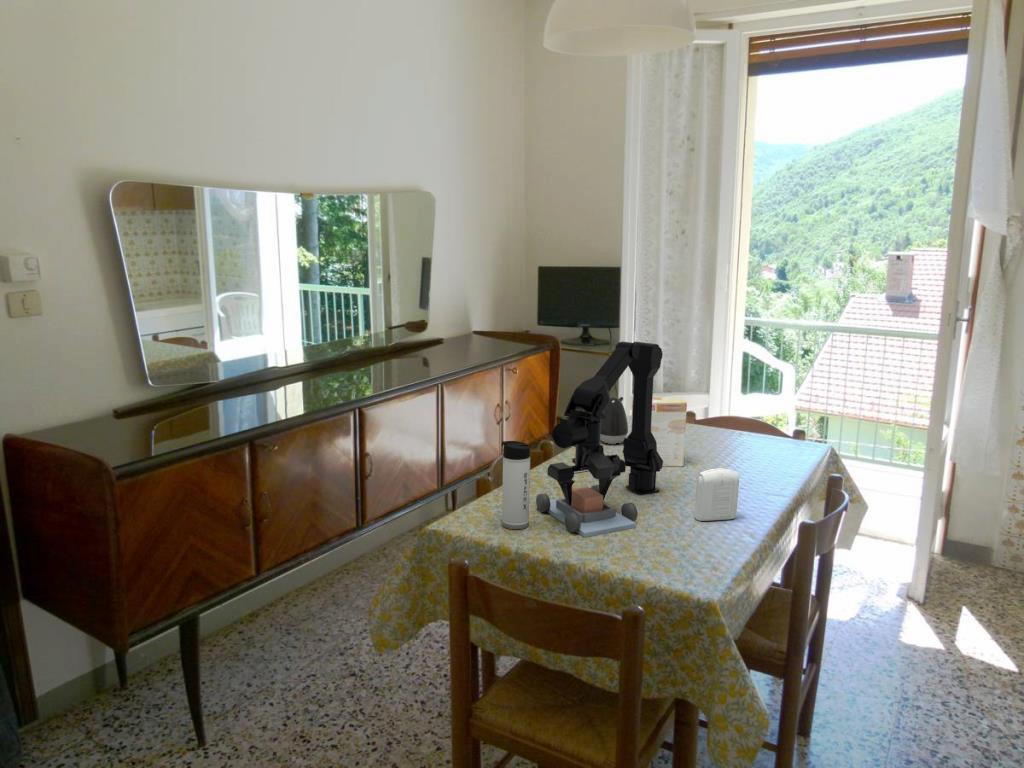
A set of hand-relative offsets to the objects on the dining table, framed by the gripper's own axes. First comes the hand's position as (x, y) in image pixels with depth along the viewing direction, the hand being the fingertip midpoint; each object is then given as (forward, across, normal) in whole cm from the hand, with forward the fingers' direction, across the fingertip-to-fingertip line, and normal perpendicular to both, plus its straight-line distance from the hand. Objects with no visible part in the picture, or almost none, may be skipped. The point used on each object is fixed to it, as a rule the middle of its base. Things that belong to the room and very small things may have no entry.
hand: (585, 502), depth 182 cm
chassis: (+4, 0, 0) cm, 4 cm away
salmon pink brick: (+2, 0, 0) cm, 3 cm away
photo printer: (+4, +28, -14) cm, 32 cm away
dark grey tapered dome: (+4, +43, +53) cm, 68 cm away
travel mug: (+4, -18, +2) cm, 18 cm away
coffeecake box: (+4, +42, +28) cm, 51 cm away
